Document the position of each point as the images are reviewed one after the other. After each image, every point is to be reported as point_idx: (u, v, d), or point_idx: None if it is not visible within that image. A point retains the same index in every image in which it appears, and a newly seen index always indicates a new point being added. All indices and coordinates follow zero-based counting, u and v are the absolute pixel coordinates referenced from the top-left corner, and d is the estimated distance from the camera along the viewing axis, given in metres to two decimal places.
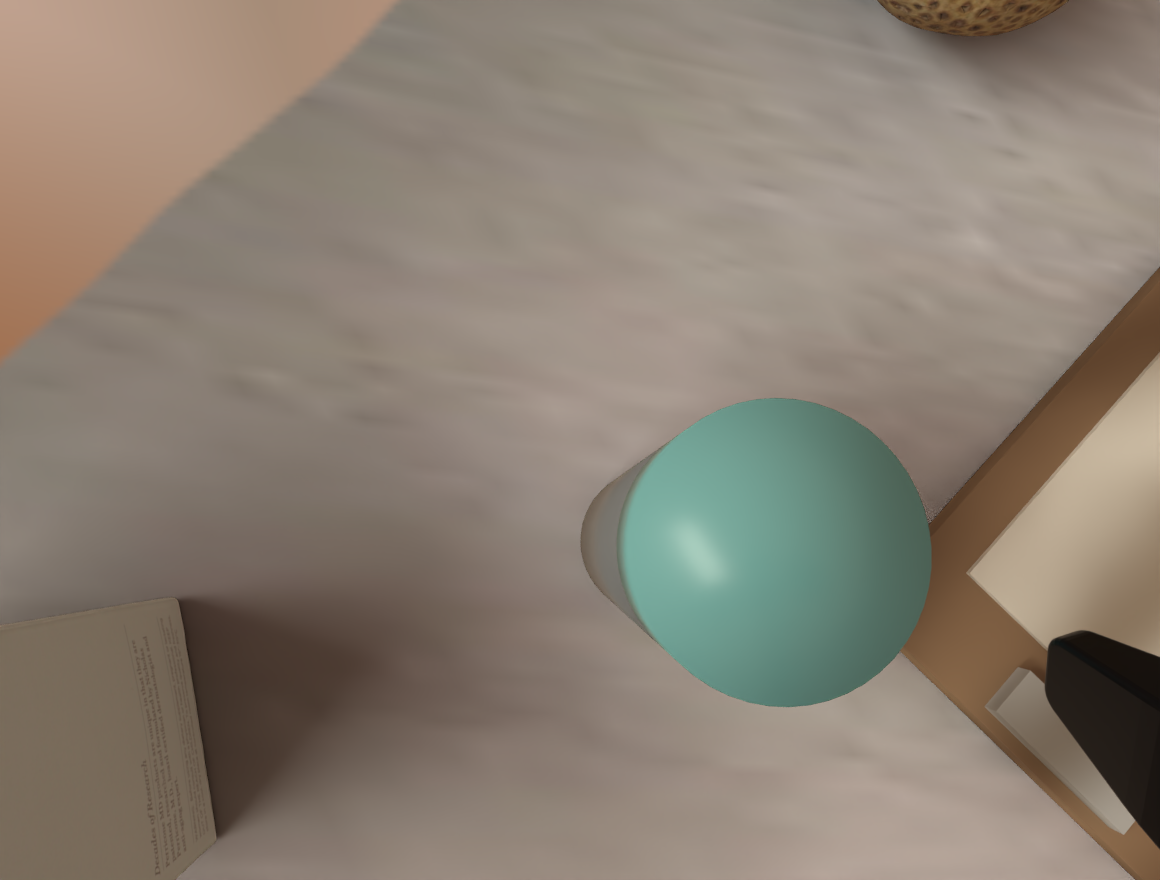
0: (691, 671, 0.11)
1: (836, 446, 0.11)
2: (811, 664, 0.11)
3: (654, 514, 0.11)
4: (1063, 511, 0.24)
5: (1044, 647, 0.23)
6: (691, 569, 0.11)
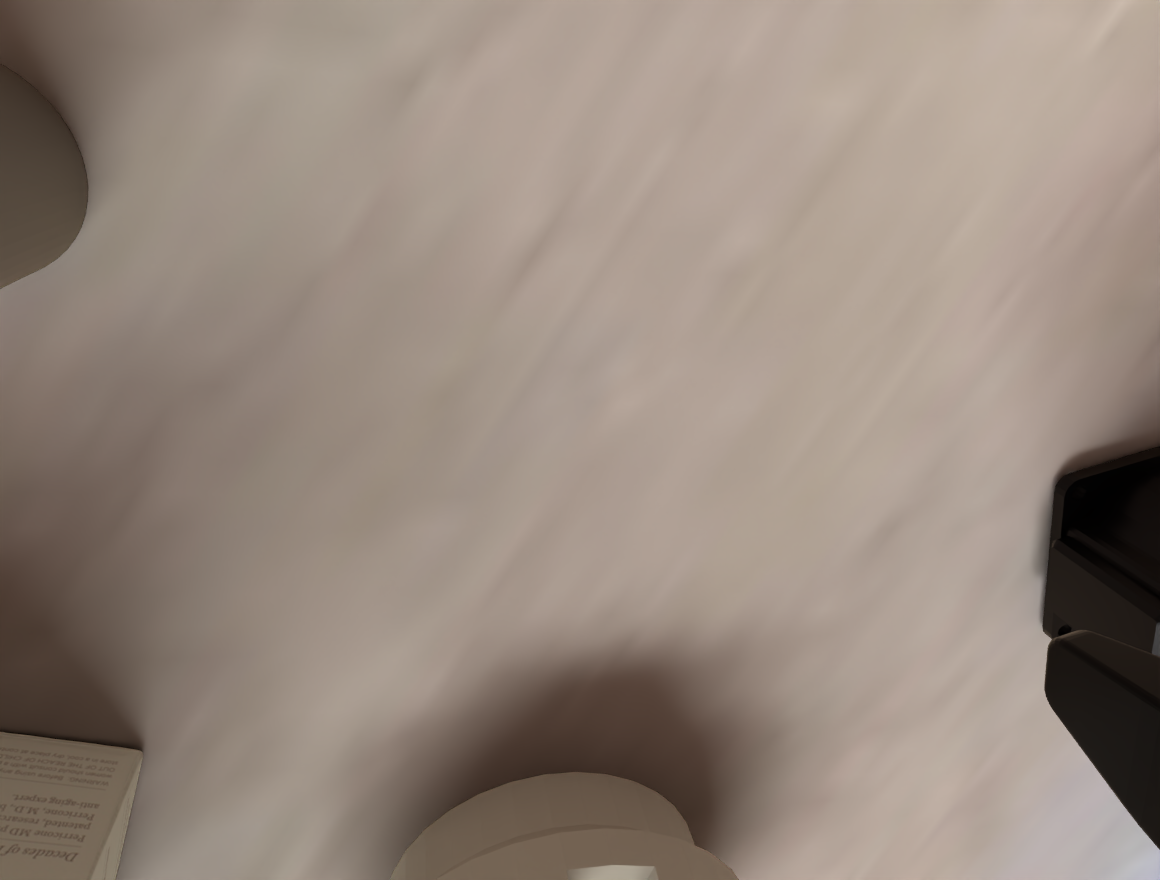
0: None
1: None
2: None
3: None
4: None
5: None
6: None
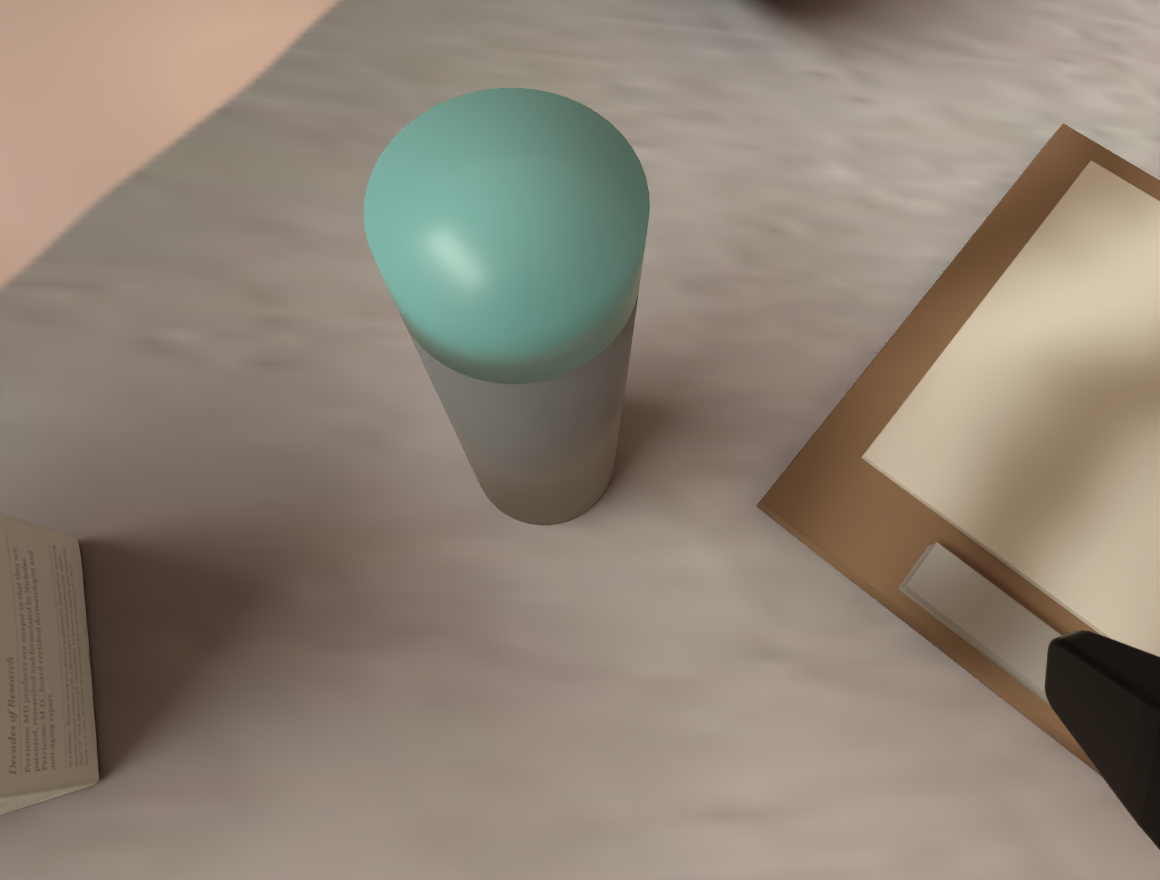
0: (418, 305, 0.11)
1: (556, 120, 0.12)
2: (535, 293, 0.11)
3: (386, 182, 0.12)
4: (951, 391, 0.24)
5: (952, 525, 0.23)
6: (420, 223, 0.12)
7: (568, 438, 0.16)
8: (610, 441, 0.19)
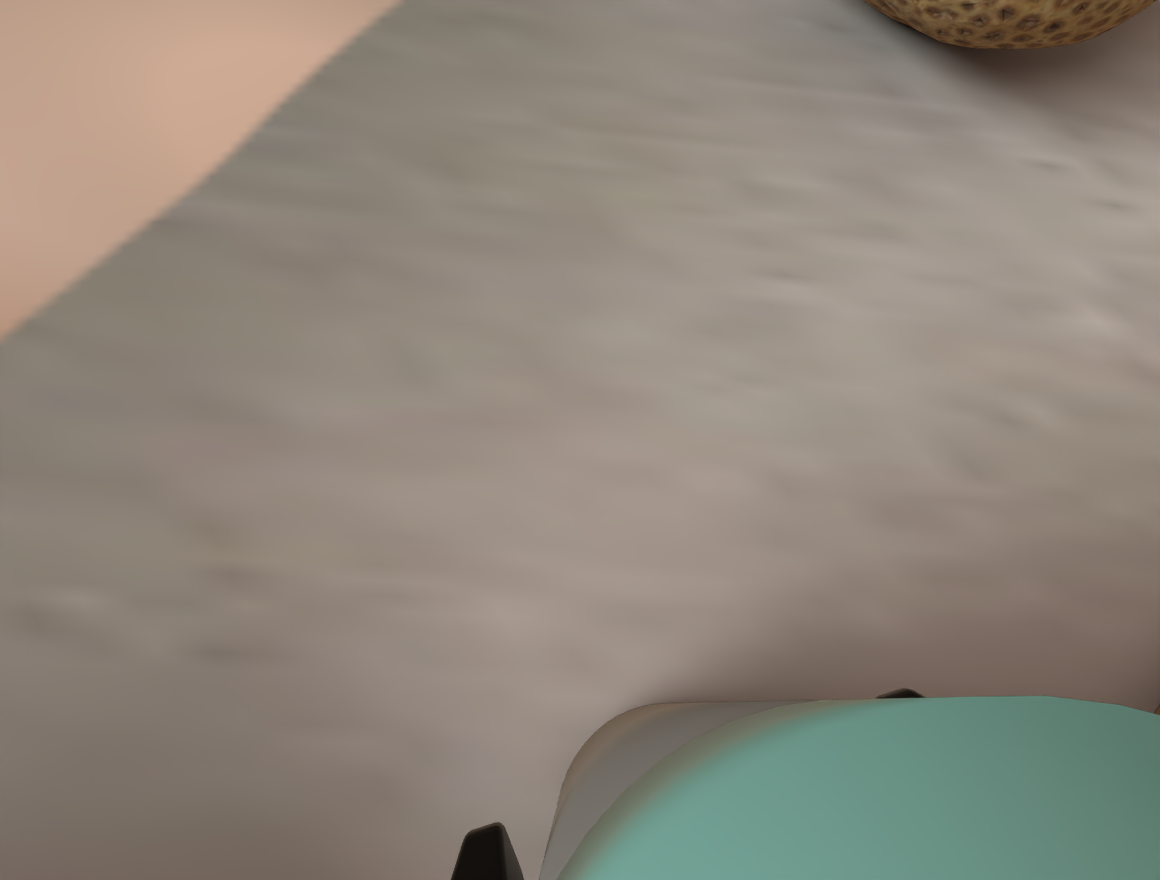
0: None
1: None
2: None
3: None
4: None
5: None
6: None
7: None
8: None
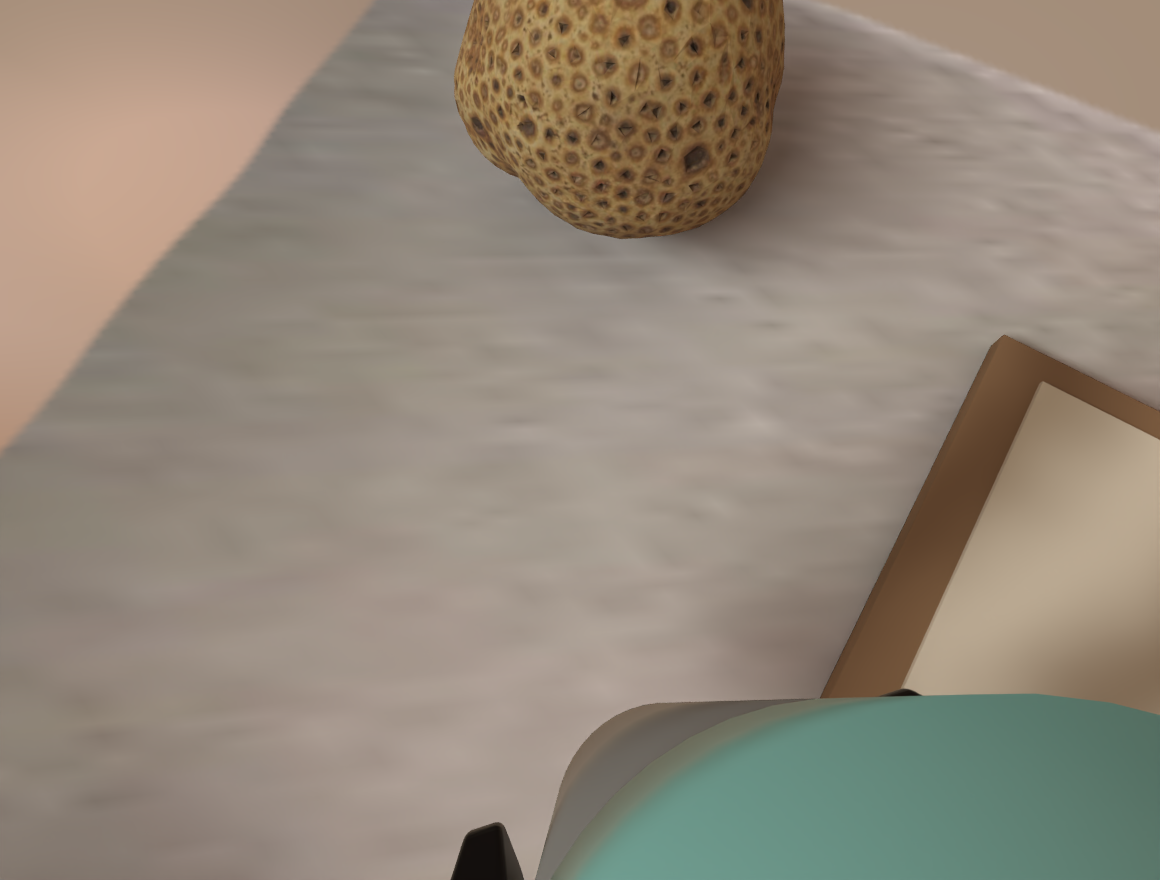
0: None
1: None
2: None
3: None
4: None
5: None
6: None
7: None
8: None
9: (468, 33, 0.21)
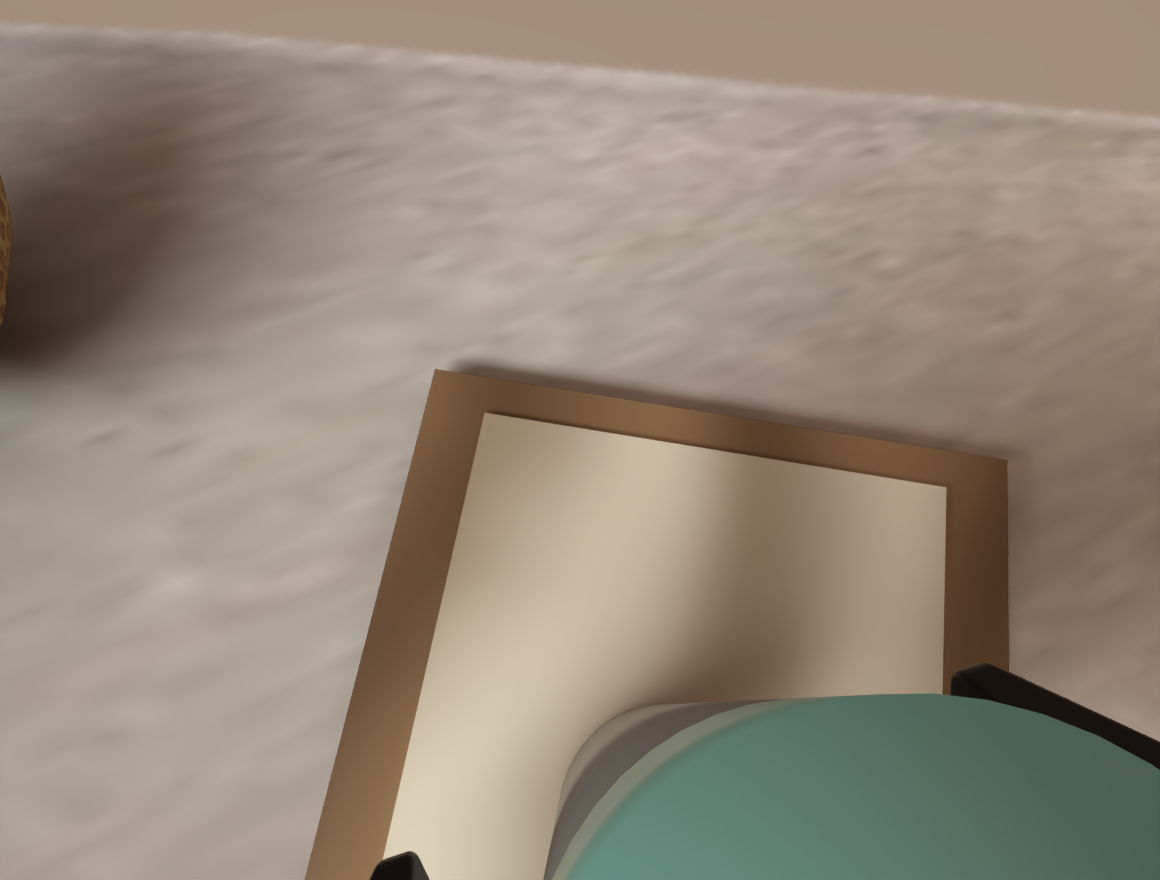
0: None
1: (1078, 829, 0.04)
2: None
3: None
4: None
5: None
6: None
7: None
8: None
9: None
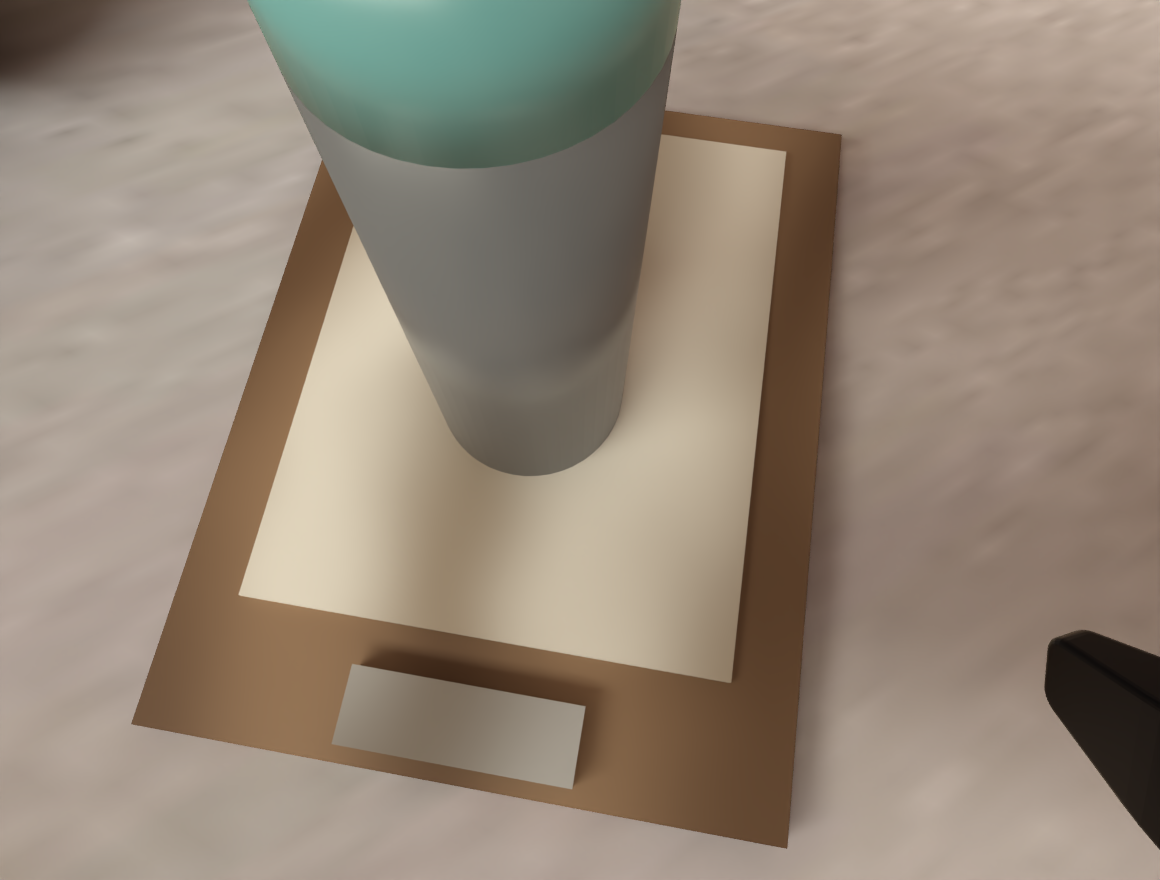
0: None
1: None
2: None
3: None
4: (321, 453, 0.18)
5: (380, 620, 0.17)
6: None
7: (560, 313, 0.11)
8: (620, 344, 0.14)
9: None
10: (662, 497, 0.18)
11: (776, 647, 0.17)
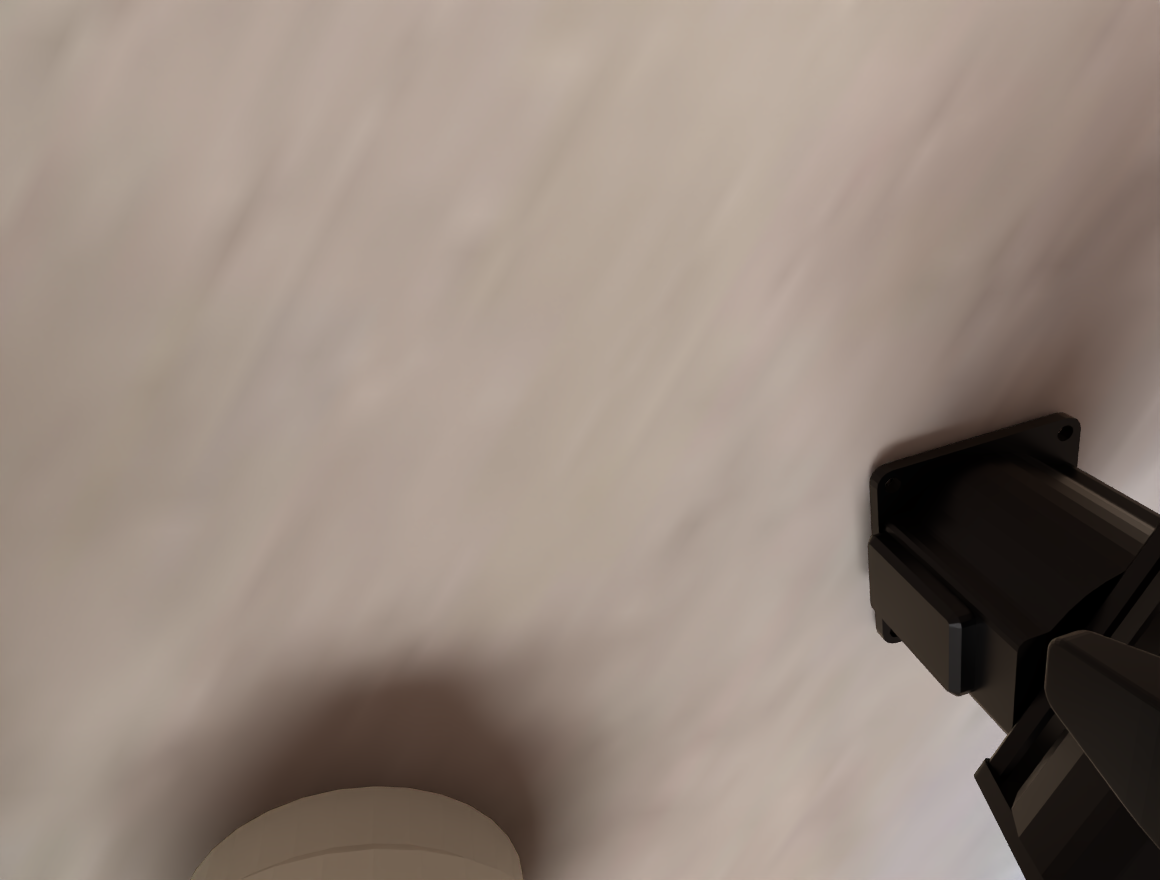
0: None
1: None
2: None
3: None
4: None
5: None
6: None
7: None
8: None
9: None
10: None
11: None
